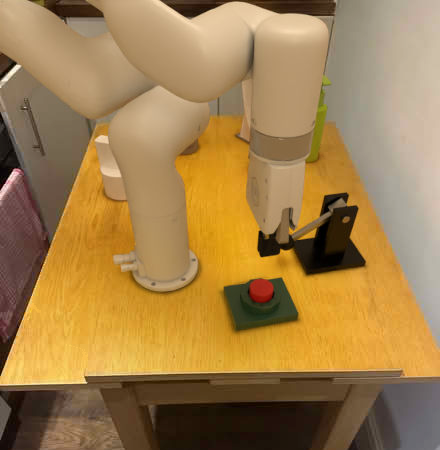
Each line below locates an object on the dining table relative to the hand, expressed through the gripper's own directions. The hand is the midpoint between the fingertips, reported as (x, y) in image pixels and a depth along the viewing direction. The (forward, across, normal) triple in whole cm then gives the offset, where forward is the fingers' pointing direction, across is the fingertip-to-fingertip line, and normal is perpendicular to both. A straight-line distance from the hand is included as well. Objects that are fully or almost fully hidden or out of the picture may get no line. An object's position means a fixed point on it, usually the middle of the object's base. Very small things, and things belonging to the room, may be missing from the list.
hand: (268, 252), depth 63 cm
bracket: (+13, -10, +16) cm, 23 cm away
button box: (+13, 0, 0) cm, 13 cm away
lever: (+6, -10, +13) cm, 18 cm away
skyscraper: (+13, -60, +16) cm, 64 cm away
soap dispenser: (+13, -47, +26) cm, 56 cm away
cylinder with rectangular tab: (+12, -42, -22) cm, 49 cm away
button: (+10, 0, 0) cm, 10 cm away
